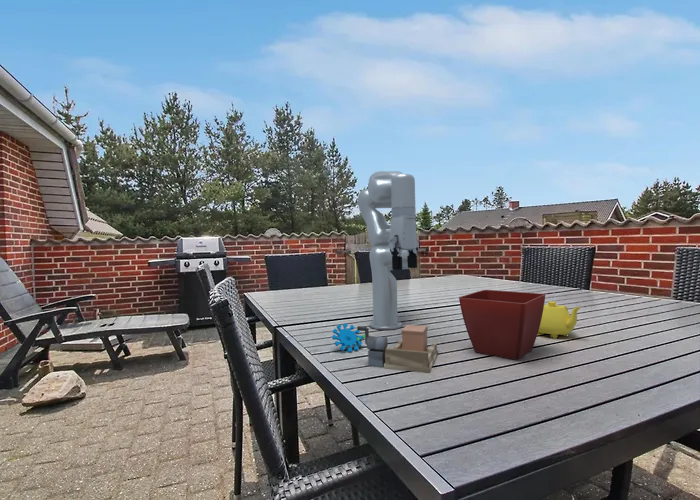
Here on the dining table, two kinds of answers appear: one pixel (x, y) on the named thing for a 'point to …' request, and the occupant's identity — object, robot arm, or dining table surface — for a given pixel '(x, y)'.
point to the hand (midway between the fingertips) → (405, 268)
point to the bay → (397, 354)
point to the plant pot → (502, 321)
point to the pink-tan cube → (414, 338)
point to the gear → (347, 337)
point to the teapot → (557, 320)
